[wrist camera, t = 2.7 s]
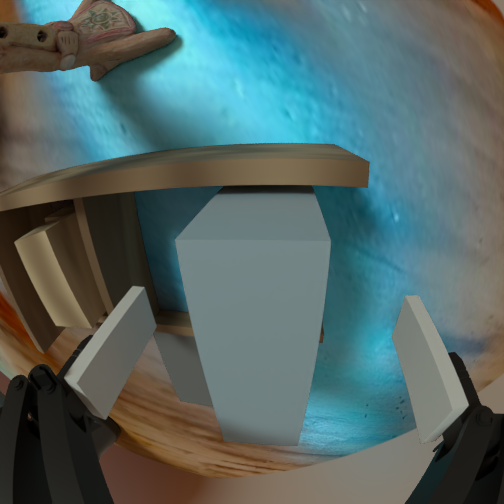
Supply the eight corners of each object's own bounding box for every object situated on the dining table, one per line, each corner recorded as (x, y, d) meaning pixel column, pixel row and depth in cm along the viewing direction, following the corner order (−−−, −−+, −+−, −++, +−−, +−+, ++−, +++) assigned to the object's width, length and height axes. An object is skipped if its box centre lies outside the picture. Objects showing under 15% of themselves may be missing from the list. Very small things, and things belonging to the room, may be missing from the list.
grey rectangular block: (251, 311, 23) (224, 440, 12) (243, 166, 18) (174, 239, 7) (298, 312, 23) (297, 446, 12) (304, 165, 17) (331, 241, 7)
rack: (77, 305, 26) (38, 351, 19) (39, 175, 20) (-23, 204, 12) (320, 326, 23) (326, 403, 16) (334, 144, 16) (369, 162, 9)
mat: (181, 398, 31) (180, 401, 31) (151, 320, 25) (149, 322, 25) (273, 409, 30) (273, 411, 30) (275, 330, 24) (274, 333, 23)
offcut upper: (76, 302, 21) (56, 325, 18) (41, 224, 18) (14, 242, 15) (113, 301, 20) (92, 328, 17) (75, 212, 17) (45, 230, 14)
